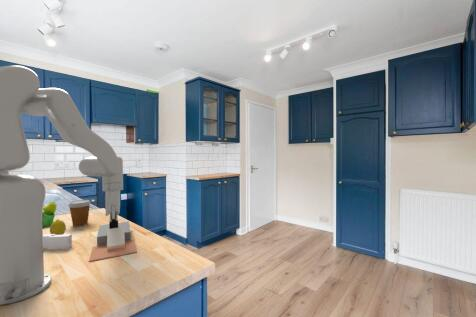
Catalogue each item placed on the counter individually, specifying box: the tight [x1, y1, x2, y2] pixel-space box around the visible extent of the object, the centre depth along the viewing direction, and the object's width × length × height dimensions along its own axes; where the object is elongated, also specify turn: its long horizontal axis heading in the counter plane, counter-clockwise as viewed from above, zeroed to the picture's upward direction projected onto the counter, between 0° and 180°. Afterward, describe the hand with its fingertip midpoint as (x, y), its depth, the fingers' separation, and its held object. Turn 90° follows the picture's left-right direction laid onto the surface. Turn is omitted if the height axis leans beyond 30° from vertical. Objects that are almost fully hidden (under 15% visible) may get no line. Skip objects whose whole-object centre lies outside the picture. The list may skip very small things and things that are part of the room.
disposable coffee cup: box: [67, 199, 91, 227], centre depth 117 cm, size 10×10×12 cm
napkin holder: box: [43, 233, 73, 251], centre depth 90 cm, size 15×11×6 cm
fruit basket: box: [42, 201, 57, 228], centre depth 119 cm, size 11×9×11 cm
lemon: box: [49, 219, 67, 235], centre depth 100 cm, size 6×6×8 cm
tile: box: [107, 227, 125, 251], centre depth 90 cm, size 9×6×2 cm, turn 29°
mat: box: [88, 239, 137, 263], centre depth 87 cm, size 13×15×1 cm
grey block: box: [96, 221, 132, 246], centre depth 99 cm, size 16×12×4 cm
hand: (114, 230), depth 94 cm, fingers closed
